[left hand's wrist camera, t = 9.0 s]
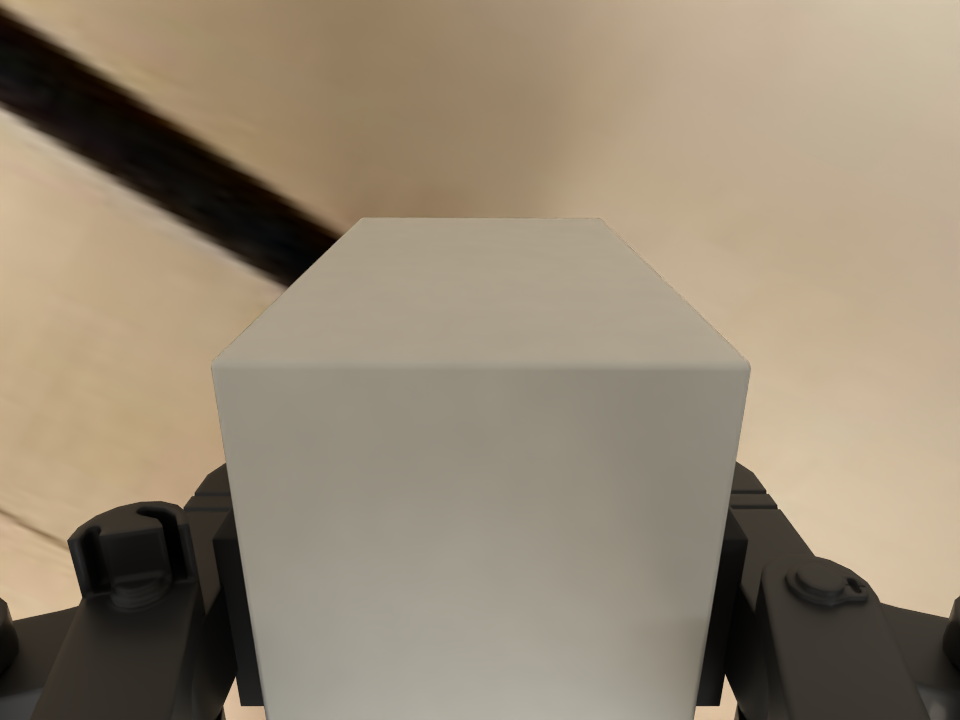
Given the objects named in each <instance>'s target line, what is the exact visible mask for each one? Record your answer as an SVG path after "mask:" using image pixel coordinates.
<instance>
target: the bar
mask: <svg viewBox="0 0 960 720" xmlns="http://www.w3.org/2000/svg"><path fill="white" fill-rule="evenodd" d="M211 369H212V376H213V382H214V388H215V395H216V401H217V408H218V414H219V420H220V427H221V433H222V440H223V446H224V452H225V459H226V465H227V472H228V478H229V484H230V491H231V497H232V504H233V510H234V516H235V523H236V529H237V536H238V542H239V548H240V555H241V561H242V568H243V574H244V581H245V587H246V593H247V600H248V606H249V613H250V619H251V625H252V632H253V638H254V645H255V651H256V657H257V664H258V670H259V677H260V683H261V689H262V696H263V702H264V709H265V715H266V720H694V714H695V708H696V702H697V696H698V690H699V684H700V677H701V671H702V665H703V659H704V653H705V647H706V641H707V635H708V628H709V622H710V616H711V610H712V604H713V598H714V592H715V585H716V579H717V573H718V567H719V561H720V555H721V549H722V543H723V536H724V530H725V524H726V518H727V512H728V506H729V500H730V494H731V487H732V481H733V475H734V469H735V463H736V457H737V451H738V445H739V438H740V432H741V426H742V420H743V414H744V408H745V402H746V395H747V389H748V383H749V377H750V371H751V367H750V364H749V362H748V361H747V360H746V359H745V358H744V357H743V356H742V355H741V354H740V353H739V352H738V351H737V350H736V349H735V348H734V347H733V346H732V345H731V344H730V343H729V342H728V341H727V340H726V339H725V338H723V337H722V336H721V335H720V334H719V333H718V332H717V331H716V330H715V329H714V328H713V327H712V326H711V325H710V324H709V323H708V322H707V321H706V320H705V319H704V318H703V317H702V316H701V315H700V314H699V313H698V312H697V311H696V310H695V309H694V308H693V307H691V306H690V305H689V304H688V303H687V302H686V301H685V300H684V299H683V298H682V297H681V296H680V295H679V294H678V293H677V292H676V291H675V290H674V289H673V288H672V287H671V286H670V285H669V284H668V283H667V282H666V281H665V280H664V279H663V278H662V277H661V276H659V275H658V274H657V273H656V272H655V271H654V270H653V269H652V268H651V267H650V266H649V265H648V264H647V263H646V262H645V261H644V260H643V259H642V258H641V257H640V256H639V255H638V254H637V253H636V252H635V251H634V250H633V249H632V248H631V247H630V246H628V245H627V244H626V243H625V242H624V241H623V240H622V239H621V238H620V237H619V236H618V235H617V234H616V233H615V232H614V231H613V230H612V229H611V228H610V227H609V226H608V225H607V224H606V223H605V222H604V221H603V220H602V219H599V218H361V219H360V220H359V221H358V222H356V223H355V224H354V225H353V226H352V227H351V228H350V229H349V230H348V231H347V232H346V233H345V234H344V235H343V236H342V237H341V238H340V239H339V240H338V241H337V242H336V243H335V244H334V245H333V246H332V247H331V248H330V249H328V250H327V251H326V252H325V253H324V254H323V255H322V256H321V257H320V258H319V259H318V260H317V261H316V262H315V263H314V264H313V265H312V266H311V267H310V268H309V269H308V270H307V271H306V272H305V273H304V274H303V275H301V276H300V277H299V278H298V279H297V280H296V281H295V282H294V283H293V284H292V285H291V286H290V287H289V288H288V289H287V290H286V291H285V292H284V293H283V294H282V295H281V296H280V297H279V298H278V299H277V300H276V301H274V302H273V303H272V304H271V305H270V306H269V307H268V308H267V309H266V310H265V311H264V312H263V313H262V314H261V315H260V316H259V317H258V318H257V319H256V320H255V321H254V322H253V323H252V324H251V325H250V326H249V327H247V328H246V329H245V330H244V331H243V332H242V333H241V334H240V335H239V336H238V337H237V338H236V339H235V340H234V341H233V342H232V343H231V344H230V345H229V346H228V347H227V348H226V349H225V350H224V351H223V352H222V353H220V354H219V355H218V356H217V357H216V358H215V359H214V360H213V362H212V366H211Z"/></svg>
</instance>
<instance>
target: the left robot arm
mask: <svg viewBox="0 0 960 720" xmlns="http://www.w3.org/2000/svg"><path fill="white" fill-rule="evenodd" d="M67 542H68V545H69V549H70V553H71V557H72V560H73V564H74V568H75V571H76V575H77V579H78V583H79V586H80V590H81V594H82V600H81V602H80V604H79V606H77V607H73V608H69V609H66V610H62V611H57V612H53V613H48V614H43V615H39V616H34V617H29V618H24V619H20V620H15V621H12V618H11V615H10V612H9V608H8V605H7V603H6V602H5V601H4V600H2V599H1V598H0V720H226V718H225V713H224V707H223V705H224V702H225V700H226V698H227V695H228V693H229V691H230V688H231V686H232V684H233V681H234V679H235V677H236V680H237V686H238V691H239V697H240V703H241V706H264V702H263V696H262V689H261V683H260V677H259V670H258V664H257V657H256V651H255V645H254V638H253V632H252V625H251V619H250V613H249V606H248V600H247V593H246V587H245V581H244V574H243V568H242V561H241V555H240V548H239V542H238V536H237V529H236V523H235V516H234V510H233V504H232V497H231V491H230V484H229V478H228V472H227V465H226V463H225V464H223V465H222V466H220V467H219V468H217V469H216V470H214V471H213V472H211V473H210V474H208V475H207V477H206V478H205V479H204V481H203V482H202V483H201V485H200V486H199V488H198V489H197V490H196V492H195V496H192V497H191V498H190V500H189V501H188V502H187V504H186V505H185V507H184V510H183V509H182V508H181V507H179V506H178V505H176V504H171V503H167V502H162V501H153V502H138V503H133V504H129V505H124V506H120V507H117V508H114V509H112V510H109V511H107V512H104V513H102V514H99V515H97V516H95V517H94V518H92V519H91V520H89V521H87V522H86V523H84V524H83V525H81V526H80V527H78V528H77V530H76V531H75V532H74V533H73V534H72V535H71V537H70V538H69V539H68V540H67ZM725 674H726V677H727V679H728V681H729V684H730V686H731V688H732V691H733V693H734V695H735V698H736V700H737V707H736V713H735V718H734V720H960V596H959V597H958V598H957V599H956V600H955V601H954V604H953V607H952V611H951V614H950V617H949V618H945V617H940V616H935V615H931V614H926V613H921V612H917V611H912V610H907V609H902V608H898V607H894V606H891V605H887V604H883V603H880V601H879V598H878V596H877V595H876V594H875V592H874V591H873V589H872V588H871V587H870V585H869V584H868V583H867V582H866V581H865V580H864V579H862V578H861V577H860V576H858V575H857V574H856V573H854V572H853V571H852V570H850V569H848V568H846V567H844V566H842V565H839V564H837V563H835V562H833V561H831V560H828V559H824V558H820V557H816V556H814V554H813V553H812V551H811V550H810V549H809V547H808V546H807V545H806V543H805V542H804V541H803V539H802V538H801V537H800V535H799V534H798V533H797V531H796V530H795V529H794V527H793V526H792V524H791V523H790V522H789V520H788V519H787V518H786V516H785V515H784V514H783V512H782V511H781V510H780V509H778V508H777V504H776V503H775V502H774V500H773V499H772V498H771V496H770V495H769V494H766V489H765V488H764V487H763V485H762V484H761V483H760V481H759V480H758V479H757V477H756V476H755V475H754V473H753V472H751V471H750V470H748V469H747V468H745V467H744V466H742V465H741V464H739V463H738V462H736V463H735V469H734V475H733V481H732V487H731V494H730V500H729V506H728V512H727V518H726V524H725V530H724V536H723V543H722V549H721V555H720V561H719V567H718V573H717V579H716V585H715V592H714V598H713V604H712V610H711V616H710V622H709V628H708V635H707V641H706V647H705V653H704V659H703V665H702V671H701V677H700V684H699V690H698V696H697V702H696V706H720V700H721V694H722V689H723V683H724V677H725Z"/></svg>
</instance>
